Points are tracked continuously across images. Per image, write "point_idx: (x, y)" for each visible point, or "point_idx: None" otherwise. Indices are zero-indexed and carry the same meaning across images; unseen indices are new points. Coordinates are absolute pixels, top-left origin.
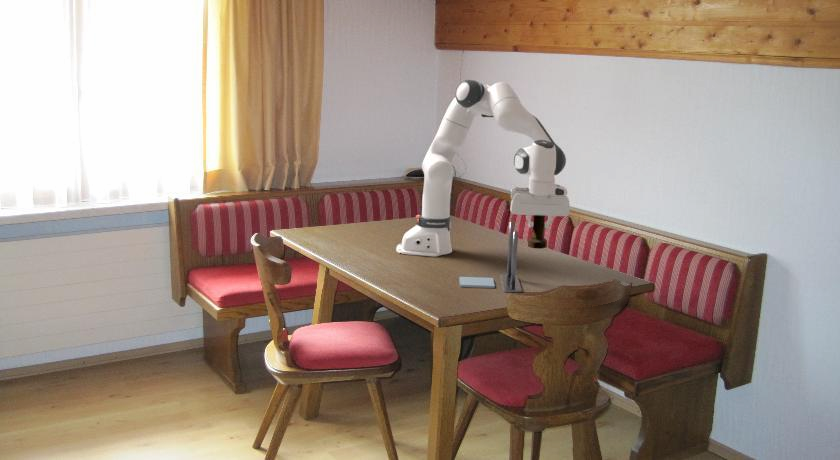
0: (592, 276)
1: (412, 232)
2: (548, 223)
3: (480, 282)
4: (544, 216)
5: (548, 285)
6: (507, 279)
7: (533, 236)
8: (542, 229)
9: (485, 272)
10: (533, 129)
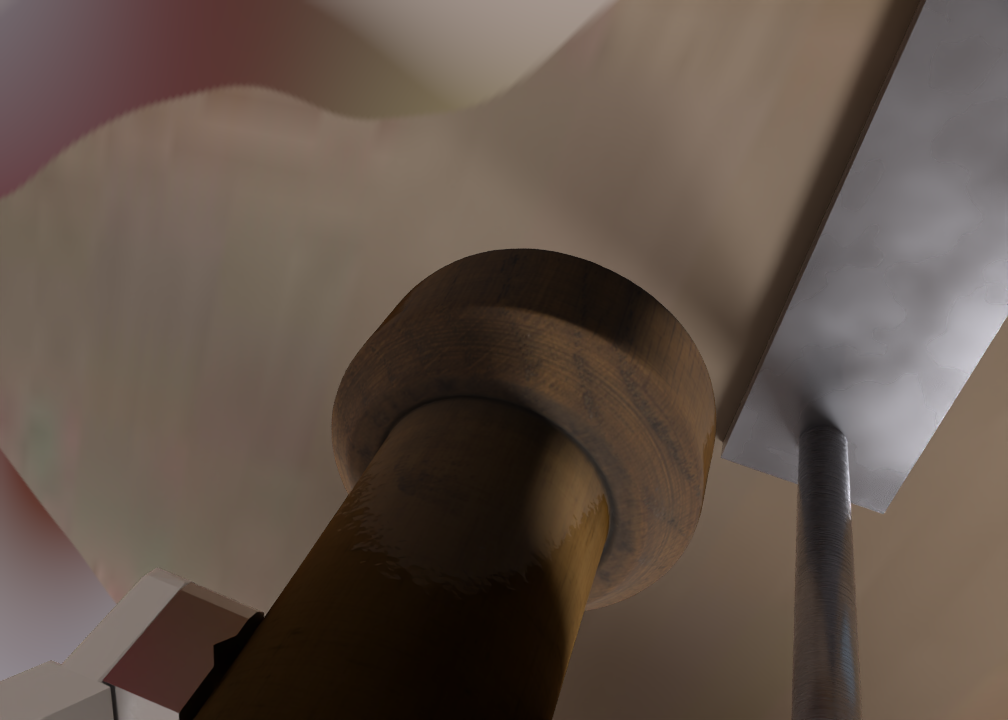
0: (85, 312)
1: None
2: (72, 667)
3: None
4: None
5: (511, 142)
6: (904, 355)
7: (593, 534)
8: (332, 564)
9: (951, 638)
10: None
